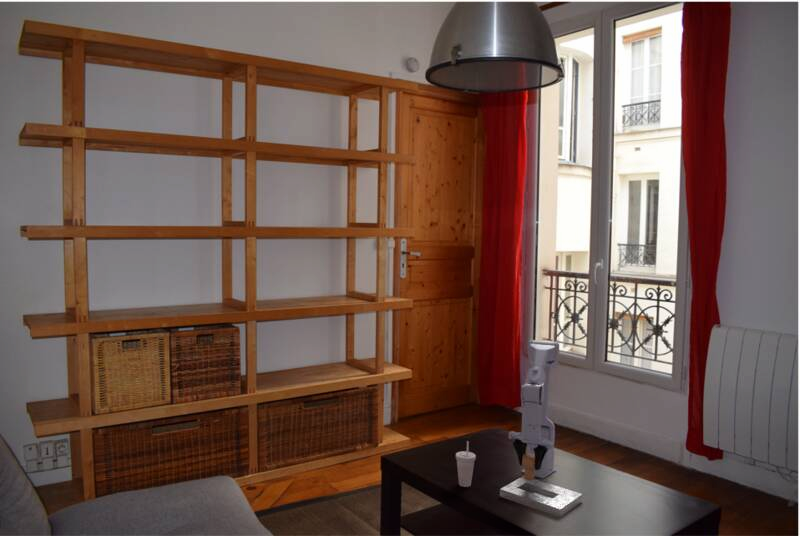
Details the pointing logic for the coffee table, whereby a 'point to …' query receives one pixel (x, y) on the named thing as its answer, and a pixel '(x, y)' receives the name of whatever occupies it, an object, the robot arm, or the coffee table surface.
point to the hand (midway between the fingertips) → (529, 466)
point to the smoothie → (465, 466)
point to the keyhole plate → (541, 496)
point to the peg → (529, 465)
